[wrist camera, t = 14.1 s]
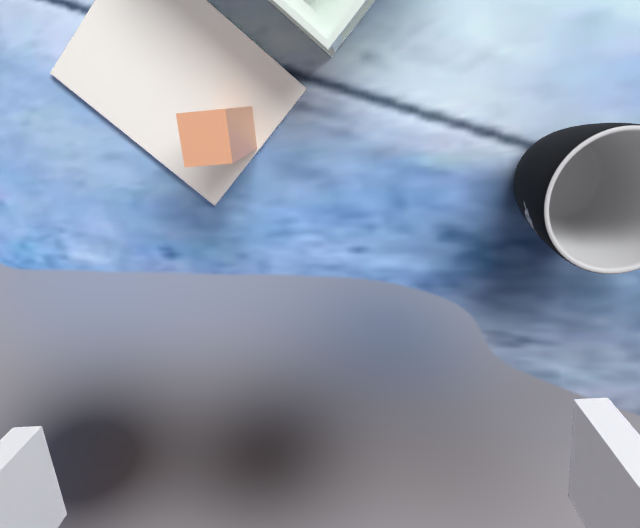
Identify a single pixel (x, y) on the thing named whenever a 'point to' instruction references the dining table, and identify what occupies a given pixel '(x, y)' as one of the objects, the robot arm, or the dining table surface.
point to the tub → (325, 19)
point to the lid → (180, 85)
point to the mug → (585, 195)
